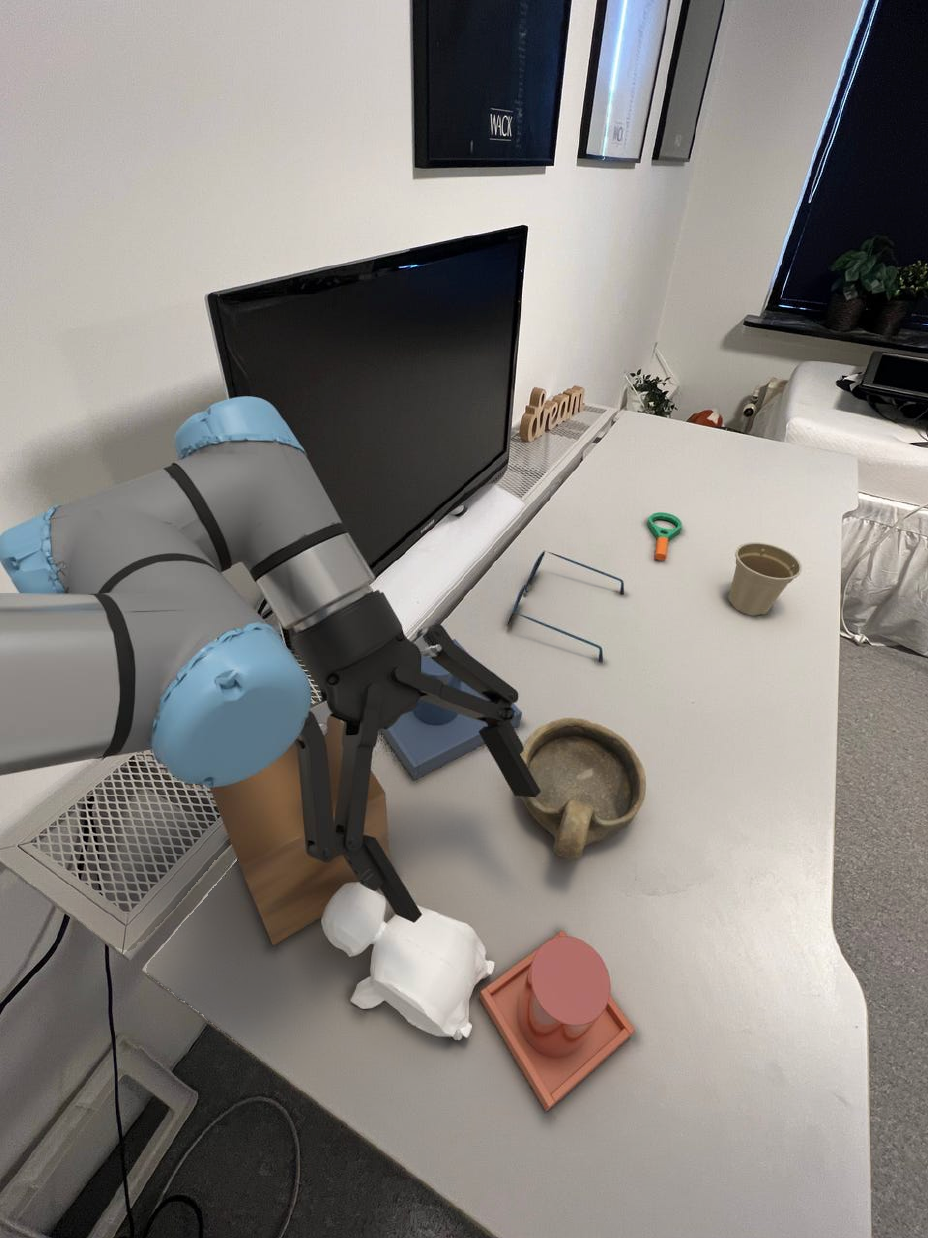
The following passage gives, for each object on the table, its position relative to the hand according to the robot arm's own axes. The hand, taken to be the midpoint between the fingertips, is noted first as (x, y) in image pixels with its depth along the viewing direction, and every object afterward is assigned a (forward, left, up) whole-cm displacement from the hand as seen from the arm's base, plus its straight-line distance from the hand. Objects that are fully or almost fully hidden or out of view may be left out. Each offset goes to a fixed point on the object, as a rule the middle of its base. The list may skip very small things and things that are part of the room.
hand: (473, 849), depth 46 cm
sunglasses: (+39, +30, -15) cm, 51 cm away
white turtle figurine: (-6, 0, -15) cm, 16 cm away
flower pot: (+66, +17, -15) cm, 69 cm away
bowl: (+17, +4, -15) cm, 23 cm away
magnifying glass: (+68, +37, -15) cm, 78 cm away
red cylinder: (+2, -10, -14) cm, 18 cm away
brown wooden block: (-9, +14, -15) cm, 22 cm away
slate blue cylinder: (+12, +24, -14) cm, 30 cm away
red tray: (+3, -10, -15) cm, 18 cm away
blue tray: (+12, +24, -15) cm, 30 cm away
